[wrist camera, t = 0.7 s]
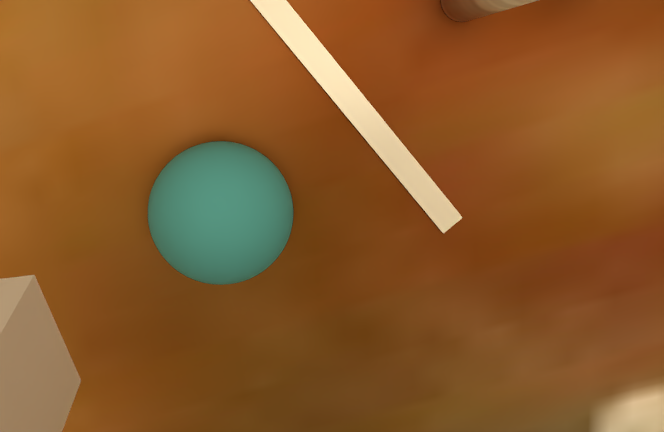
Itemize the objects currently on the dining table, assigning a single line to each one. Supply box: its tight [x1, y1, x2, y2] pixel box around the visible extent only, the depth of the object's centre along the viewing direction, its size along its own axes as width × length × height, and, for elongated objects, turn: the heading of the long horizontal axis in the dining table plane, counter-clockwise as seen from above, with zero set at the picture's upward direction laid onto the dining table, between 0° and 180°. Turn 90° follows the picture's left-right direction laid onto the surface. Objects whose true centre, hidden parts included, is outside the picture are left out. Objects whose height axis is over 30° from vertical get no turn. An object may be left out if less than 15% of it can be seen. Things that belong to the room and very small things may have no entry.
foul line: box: [250, 0, 463, 233], centre depth 28 cm, size 16×1×1 cm, turn 40°
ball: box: [148, 141, 293, 285], centre depth 26 cm, size 6×6×6 cm
